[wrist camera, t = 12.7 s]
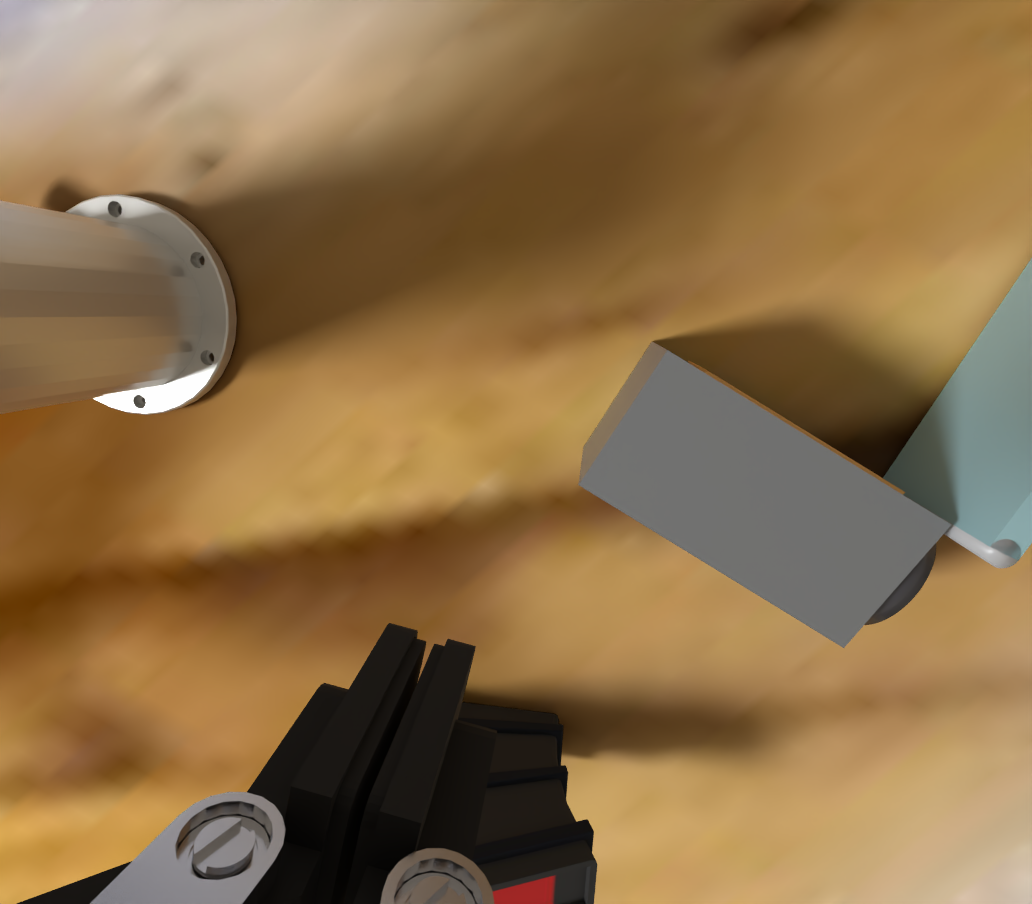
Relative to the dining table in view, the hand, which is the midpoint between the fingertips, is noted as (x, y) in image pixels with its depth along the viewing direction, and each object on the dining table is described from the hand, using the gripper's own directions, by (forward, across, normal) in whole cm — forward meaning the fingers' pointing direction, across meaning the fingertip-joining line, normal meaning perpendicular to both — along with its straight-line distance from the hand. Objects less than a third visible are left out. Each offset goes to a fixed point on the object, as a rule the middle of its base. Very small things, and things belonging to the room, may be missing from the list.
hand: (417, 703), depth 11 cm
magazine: (+25, -2, +20) cm, 32 cm away
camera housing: (+24, -11, -1) cm, 27 cm away
